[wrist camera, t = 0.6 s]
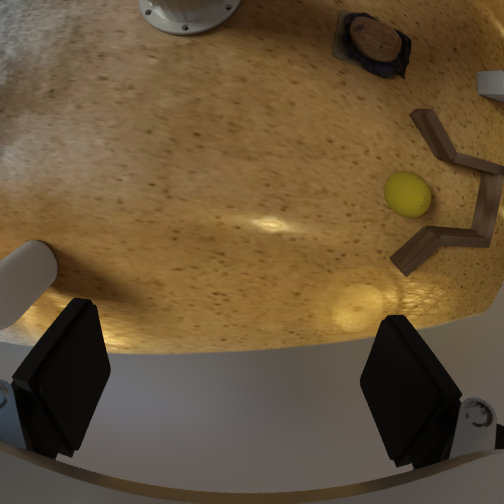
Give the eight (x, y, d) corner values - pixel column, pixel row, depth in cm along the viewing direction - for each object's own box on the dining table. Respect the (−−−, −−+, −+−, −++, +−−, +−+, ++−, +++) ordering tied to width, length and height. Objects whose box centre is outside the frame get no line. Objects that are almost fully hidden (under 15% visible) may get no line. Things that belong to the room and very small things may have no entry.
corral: (409, 107, 32) (425, 107, 29) (491, 133, 33) (508, 136, 30) (388, 264, 41) (400, 277, 38) (467, 264, 42) (480, 274, 38)
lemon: (415, 179, 36) (449, 193, 29) (397, 214, 38) (428, 233, 31) (386, 159, 35) (418, 168, 28) (367, 195, 37) (395, 213, 30)
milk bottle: (29, 228, 37) (-59, 293, 18) (65, 257, 39) (-14, 338, 20) (18, 265, 39) (-56, 334, 20) (51, 292, 41) (-15, 373, 22)
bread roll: (328, 59, 31) (336, 53, 27) (339, 6, 28) (348, -3, 24) (401, 88, 32) (415, 86, 29) (410, 37, 29) (424, 31, 25)
